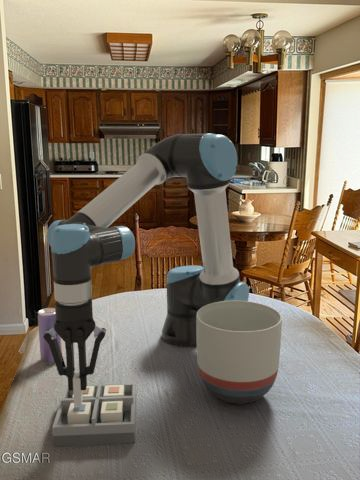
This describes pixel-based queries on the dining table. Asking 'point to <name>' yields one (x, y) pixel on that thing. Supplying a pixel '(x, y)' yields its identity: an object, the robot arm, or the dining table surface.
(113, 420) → the key
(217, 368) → the planter
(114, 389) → the key
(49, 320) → the beverage can
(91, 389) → the key
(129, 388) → the keypad
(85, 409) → the key
